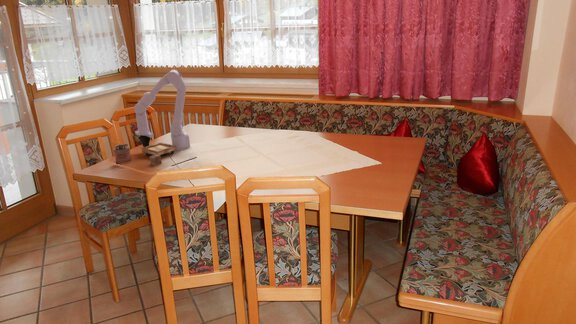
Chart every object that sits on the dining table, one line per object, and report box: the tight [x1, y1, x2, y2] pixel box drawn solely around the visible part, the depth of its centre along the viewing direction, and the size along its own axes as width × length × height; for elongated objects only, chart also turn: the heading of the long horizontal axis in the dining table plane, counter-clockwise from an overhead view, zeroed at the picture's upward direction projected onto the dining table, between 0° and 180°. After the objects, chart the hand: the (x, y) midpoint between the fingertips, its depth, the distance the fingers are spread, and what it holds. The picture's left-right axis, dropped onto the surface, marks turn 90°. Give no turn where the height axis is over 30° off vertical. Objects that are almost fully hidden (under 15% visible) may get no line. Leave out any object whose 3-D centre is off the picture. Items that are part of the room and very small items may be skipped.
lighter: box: [113, 143, 132, 165], centre depth 230 cm, size 8×3×10 cm, turn 105°
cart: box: [141, 142, 177, 156], centre depth 238 cm, size 12×14×4 cm
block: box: [148, 154, 162, 166], centre depth 223 cm, size 4×4×5 cm
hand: (146, 148), depth 245 cm, fingers closed
